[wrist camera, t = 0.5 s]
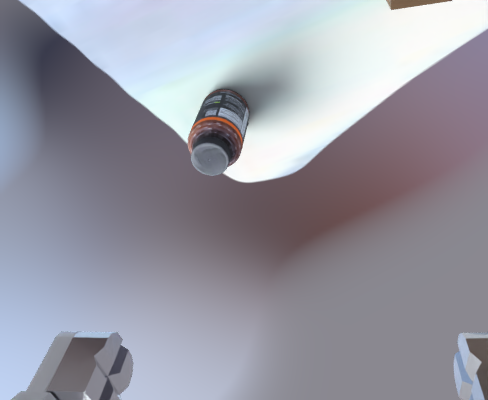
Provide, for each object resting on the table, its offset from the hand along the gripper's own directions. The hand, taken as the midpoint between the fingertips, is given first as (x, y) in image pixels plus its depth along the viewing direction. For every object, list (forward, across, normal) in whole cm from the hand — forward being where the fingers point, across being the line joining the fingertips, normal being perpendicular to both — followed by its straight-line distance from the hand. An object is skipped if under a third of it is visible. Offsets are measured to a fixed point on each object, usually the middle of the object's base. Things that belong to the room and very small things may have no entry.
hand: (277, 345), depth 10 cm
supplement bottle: (+42, +11, +14) cm, 45 cm away
